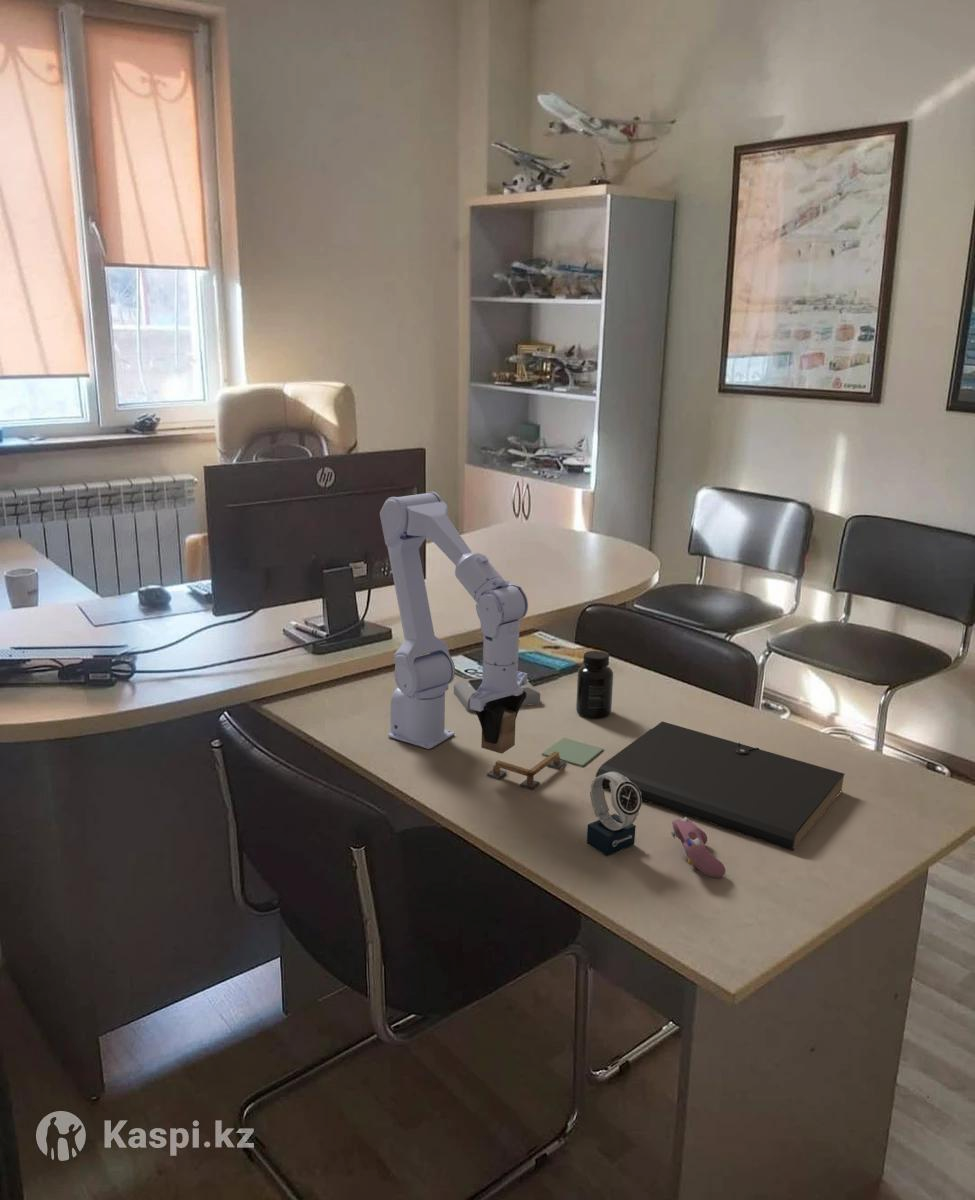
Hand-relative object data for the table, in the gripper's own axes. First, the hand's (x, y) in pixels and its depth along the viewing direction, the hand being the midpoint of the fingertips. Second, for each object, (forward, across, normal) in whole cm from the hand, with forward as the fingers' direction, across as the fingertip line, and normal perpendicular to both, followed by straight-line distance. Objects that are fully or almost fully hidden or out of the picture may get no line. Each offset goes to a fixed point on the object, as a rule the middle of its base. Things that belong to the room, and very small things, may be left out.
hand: (498, 737), depth 162 cm
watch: (+7, -9, -25) cm, 28 cm away
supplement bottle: (+7, +33, -1) cm, 34 cm away
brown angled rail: (+7, +4, -3) cm, 9 cm away
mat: (+7, +15, -6) cm, 18 cm away
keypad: (+8, +28, +18) cm, 34 cm away
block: (+2, 0, 0) cm, 2 cm away
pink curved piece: (+7, -6, -37) cm, 38 cm away
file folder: (+8, +17, -32) cm, 37 cm away
